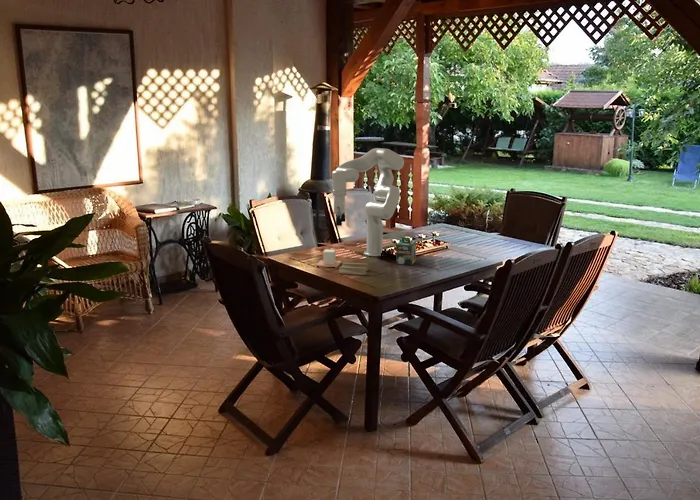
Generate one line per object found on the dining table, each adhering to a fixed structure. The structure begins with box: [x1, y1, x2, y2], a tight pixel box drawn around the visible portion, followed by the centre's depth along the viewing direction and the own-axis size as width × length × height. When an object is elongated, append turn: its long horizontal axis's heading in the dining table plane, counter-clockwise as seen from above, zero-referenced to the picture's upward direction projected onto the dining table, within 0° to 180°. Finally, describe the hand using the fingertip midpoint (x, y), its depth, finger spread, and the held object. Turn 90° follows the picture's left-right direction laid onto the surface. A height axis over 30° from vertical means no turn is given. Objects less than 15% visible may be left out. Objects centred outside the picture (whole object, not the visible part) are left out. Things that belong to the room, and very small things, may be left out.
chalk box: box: [395, 236, 417, 266], centre depth 365 cm, size 9×9×15 cm
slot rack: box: [338, 262, 369, 276], centre depth 347 cm, size 10×14×4 cm
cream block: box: [322, 248, 337, 265], centre depth 361 cm, size 6×6×7 cm
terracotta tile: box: [315, 259, 342, 269], centre depth 362 cm, size 12×12×1 cm
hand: (340, 223), depth 359 cm, fingers open, 9 cm apart
